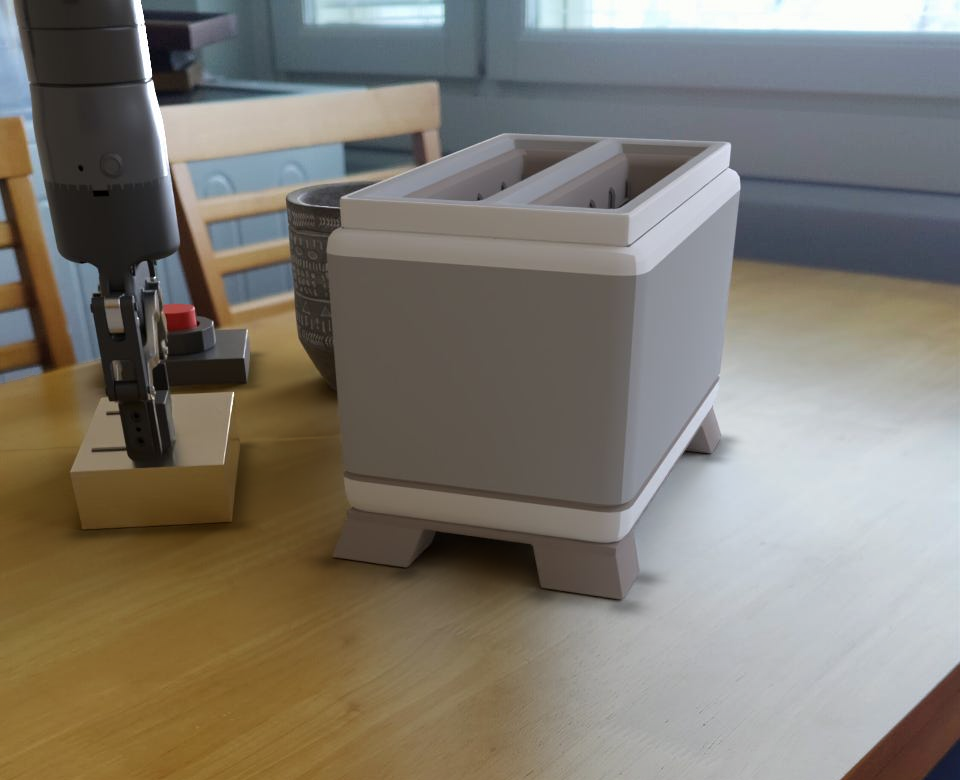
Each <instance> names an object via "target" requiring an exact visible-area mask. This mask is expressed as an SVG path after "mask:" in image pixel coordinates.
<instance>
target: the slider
mask: <svg viewBox="0 0 960 780" xmlns="http://www.w3.org/2000/svg"><path fill="white" fill-rule="evenodd" d="M155 393H156V395H154V402H155V408H156V414H157V420H158V426H159V432H160V438H161V444H162V448H172V444H173V440H174V436H175V428H174V422H173V416H172V410H171V403H170V397H169V391H168V390H160V391H155Z"/></svg>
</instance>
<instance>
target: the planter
mask: <svg viewBox="0 0 960 780" xmlns="http://www.w3.org/2000/svg"><path fill="white" fill-rule="evenodd" d="M383 180H384V179H371V180H369V179H367V180H354V181H353V180H352V181H342V182H331V183H322V184H313V185H309V186H305V187H301V188H298V189H296V190H293V191H291V192H289V193H288V194H287V195H286V196H285V205H286V215H287V223H288V227H287V228H288V242H289V243H288V244H289V255H290V256H289V257H290V266H291V274H292V275H291V276H292V282H293V283H292V284H293V288H294V289H293V295H294V299H293V300H294V312H295V323H296V331H297V338H298V340H299V342H300V344H301V346H302V348H303V349H304V351H305V353H306V354H307V356H308V357H309V359H310V360H311V362H312V364H313V365H314V367H315V368H316V369H317V371H318V372H319V375H320V376H321V377H322V378H323V379H324V381H325V382H326V384H327V385H328V386H329V388H330V389H332V390H334V391H336V392H337V382H336V369H335V356H334V343H333V330H332V317H331V304H330V291H329V278H328V265H327V252H326V250H327V243H328V238H329V236H330V235H331V233H332V232H333V231H334V230H336V229H337V228H340V227H342V226H341V214H340V199H341V197H343V196H345V195H348V194H350V193H353V192H355V191H358V190H360V189H363V188H366V187H368V186H371V185H373V184H376V183H378V182H381V181H383Z"/></svg>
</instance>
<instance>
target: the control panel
mask: <svg viewBox="0 0 960 780" xmlns="http://www.w3.org/2000/svg"><path fill="white" fill-rule="evenodd" d="M235 398H236V397H235V392H234V391H225V392H223V391H222V392H221V391H220V392H202V393H201V392H198V393H176V394H175V393H173V394H171V400H172V407H173V411H172V416H173V422H174V428H175V436H174V440H173V444H172V448H162V454H161V457H160V458H159V459H158V460H148V461H133V460H131V459H130V458H129V457H128V455H127V450H126V445H125V439H124V434H123V429H122V423H121V418H120V412H119V407H118V403H115V402H110V401H109V399H108V396H105V397H104V396H103V397H101V398H100V400H99V402H98V404H97V407H96V409H95V411H94V414H93V416H92V419H91V421H90V423H89V426H88V428H87V431H86V433H85V435H84V437H83V440H82V443H81V445H80V447H79V449H78V452H77V454H76V457H75V458H74V461H73V464H72V466H71V469H70V471H69V475H70V478H71V483H72V487H73V492H74V497H75V501H76V506H77V511H78V515H79V520H80V524H81V525H80V526H81V529H82V530H100V529H101V530H102V529H119V528H121V529H123V528H138V527H141V528H142V527H157V526H176V525H177V526H178V525H179V526H180V525H197V524H198V525H199V524H215V523H230V522H232V521H233V512H234V504H235V497H236V496H235V495H236V487H237V478H238V470H239V469H238V468H239V458H240V451H241V437H240V436H241V435H240V431H239V430H240V429H239V422H238V414H237V406H236V399H235Z"/></svg>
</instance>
